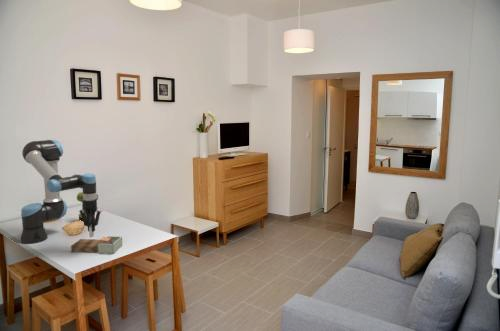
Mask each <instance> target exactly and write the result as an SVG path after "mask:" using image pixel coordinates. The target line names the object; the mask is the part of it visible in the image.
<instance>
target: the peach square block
mask: <svg viewBox="0 0 500 331" xmlns="http://www.w3.org/2000/svg"><path fill="white" fill-rule="evenodd" d="M99 240H100V243H99V244H110V243H111V238H108V237H107V236H103V237H101V238H100V239H99Z"/></svg>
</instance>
